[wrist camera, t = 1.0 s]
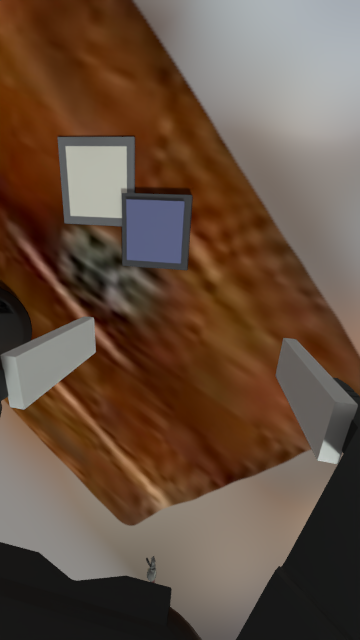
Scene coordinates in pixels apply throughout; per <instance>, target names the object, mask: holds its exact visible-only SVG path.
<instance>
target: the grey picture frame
mask: <svg viewBox="0 0 360 640" xmlns="http://www.w3.org/2000/svg"><path fill="white" fill-rule="evenodd" d="M58 148H59V160H60V173H61V185H62V197H63V210H64V222H65V223H67V224H87V225H107V226H122V193H135V137H58Z"/></svg>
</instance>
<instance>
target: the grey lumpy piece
mask: <svg viewBox="0 0 360 640" xmlns="http://www.w3.org/2000/svg"><path fill="white" fill-rule="evenodd" d="M146 561H147V563H148V565H149V566H150V568H148V572H147V578H148V580H149V581H150V582H152V583H155V578H156V568H155V567H156V565H155V558H154V556H153V557H152V558H151V564H150V562H149V560H148V558H146Z"/></svg>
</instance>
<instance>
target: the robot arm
mask: <svg viewBox="0 0 360 640" xmlns="http://www.w3.org/2000/svg"><path fill="white" fill-rule="evenodd" d="M31 335H32V328H31V323H30V319H29V316H28V314H27V312H26V310H25V309H24V307H23V306H22V304H21V303H20V302H19V301H18V300H17V299H16V298H15V297H14V296H13V295H11V294H10V293H8V292H7V291H5V290H3V289H0V415H1V411H2V405H1V401H2V400H3V399H5V398H6V397H8V399H9V404H10V407H13V408H19V409H25V408H27V407H28V406H29V405H30V404H32V403H33V402H34V401H35V400H37V399H38V398H39V397H40V396H42V395H43V394H44V393H45V392H47V391H48V390H49V389H50V388H52V387H53V386H54V385H55V384H57V383H58V382H59V381H60V380H62V379H63V378H64V377H65V376H67V375H68V374H69V373H70V372H72V371H73V370H74V369H75V368H77V367H78V366H79V365H80V364H82V363H83V362H84V361H85V360H87V359H88V358H89V357H90V356H92V355H93V354H94V353H95V352H96V348H95V329H94V318H93V317H82V318H80V319H78V320H75V321H73V322H71V323H69V324H67V325H64V326H62V327H60V328H58V329H56V330H54V331H51V332H49V333H47V334H45V335H43V336H41V337H38V338H36V339H34V340H32V341H30V340H31ZM276 378H277V380H278V382H279V384H280V386H281V388H282V390H283V392H284V394H285V396H286V398H287V400H288V402H289V404H290V406H291V408H292V410H293V412H294V414H295V416H296V418H297V420H298V422H299V424H300V426H301V428H302V430H303V432H304V434H305V436H306V438H307V440H308V442H309V444H310V447H311V449H312V451H313V453H314V455H315V457H316V459H317V460H318V461H324V462H329V463H335V464H338V465H337V467H336V469H335V471H334V473H333V475H332V476H331V478H330V480H329V482H328V484H327V485H326V487H325V489H324V491H323V493H322V495H321V497H320V498H319V500H318V502H317V504H316V506H315V508H314V509H313V511H312V513H311V515H310V517H309V519H308V521H307V522H306V524H305V526H304V528H303V530H302V531H301V533H300V535H299V537H298V539H297V541H296V542H295V544H294V546H293V548H292V550H291V552H290V554H289V556H288V557H287V559H286V561H285V562H284V564H283V566H282V567H280V566H279V567H278V568H277V569H276V570H275V572H274V574H273V575H272V577H271V579H270V580H269V582H268V584H267V586H266V587H265V589H264V591H263V593H262V594H261V596H260V598H259V600H258V602H257V603H256V605H255V607H254V609H253V610H252V612H251V614H250V616H249V618H248V619H247V621H246V623H245V625H244V626H243V628H242V630H241V632H240V634H239V636H238V637H237V639H236V640H360V396H359V395H358V394H357V393H356V392H354V390H353V389H352V388H351V387H350V386H348V385H347V384H346V383H344V382H343V381H341V380H339V379H338V378H332V377H331V376H330V375H329V374H328V373H327V372H326V371H325V369H324V368H323V367H322V366H321V365H320V364H319V363H318V362H317V361H316V360H315V359H314V358H313V357H312V356H311V355H310V354H309V353H308V352H307V351H306V349H305V348H304V347H303V346H302V345H301V344H300V343H299V342H298V341H297V340H296V339H288V338H283V342H282V347H281V352H280V357H279V362H278V367H277V371H276ZM342 452H343V453H344V454H343V456H342V458H341V460H340V457H341V454H342ZM339 460H340V462H339ZM170 599H171V588H170V587H167V586H163V585H159V584H155V583H152V582H147V581H144V580H140V579H137V578H133V577H129V576H119V577H110V578H99V579H91V580H81V581H75V580H72V579H70V578H69V577H68V576H67V575H65V574H64V573H63V572H62V571H60V570H59V569H58V568H57V567H56V566H54V565H53V564H52V563H51V562H50V561H48V560H47V559H46V558H45V557H44V556H42V555H41V554H40V553H39V552H35V551H31V550H27V549H23V548H20V547H16V546H12V545H9V544H5V543H1V542H0V640H202V639H201V638H200V637H199V635H198V634H197V633H196V632H195V630H194V629H193V627H192V626H191V625H190V624H189V623H188V622H187V621H186V620H185V619H184V618H183V617H182V616H181V615H180V614H179V613H177V612H176V611H175V610H174V609H172V608H171V607H170Z"/></svg>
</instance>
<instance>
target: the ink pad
mask: <svg viewBox="0 0 360 640" xmlns="http://www.w3.org/2000/svg"><path fill="white" fill-rule="evenodd" d="M192 199H193V197H192V195H174V194H141V193H122V262H123V266H136V267H150V268H164V269H177V270H188V257H189V243H190V228H191V214H192Z"/></svg>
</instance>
